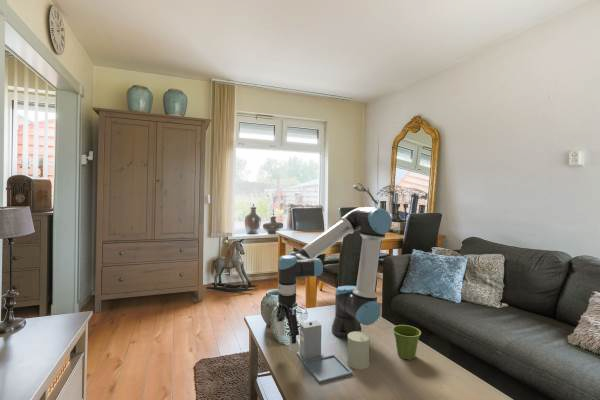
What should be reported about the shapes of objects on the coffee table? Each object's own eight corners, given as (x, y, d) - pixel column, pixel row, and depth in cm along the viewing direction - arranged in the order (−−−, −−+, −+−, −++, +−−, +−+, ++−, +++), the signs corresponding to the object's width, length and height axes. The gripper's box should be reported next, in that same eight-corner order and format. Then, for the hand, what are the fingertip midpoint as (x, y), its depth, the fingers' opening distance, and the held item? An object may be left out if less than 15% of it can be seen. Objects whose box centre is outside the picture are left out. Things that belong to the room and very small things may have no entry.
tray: (334, 356, 137) (334, 353, 137) (352, 375, 123) (352, 372, 123) (303, 363, 131) (303, 361, 131) (319, 383, 118) (319, 380, 117)
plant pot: (424, 355, 138) (425, 330, 138) (413, 366, 130) (414, 339, 129) (399, 346, 146) (399, 322, 146) (387, 355, 138) (387, 330, 137)
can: (356, 371, 125) (356, 342, 125) (342, 360, 134) (342, 332, 133) (373, 366, 130) (374, 337, 129) (359, 355, 138) (360, 328, 137)
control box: (317, 349, 143) (317, 317, 142) (324, 357, 136) (324, 324, 136) (296, 354, 139) (296, 321, 138) (303, 362, 132) (303, 328, 132)
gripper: (269, 285, 142) (269, 331, 143) (289, 304, 119) (289, 359, 120) (285, 283, 145) (284, 328, 146) (307, 301, 122) (307, 355, 123)
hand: (286, 342), depth 133 cm, fingers open, 13 cm apart
